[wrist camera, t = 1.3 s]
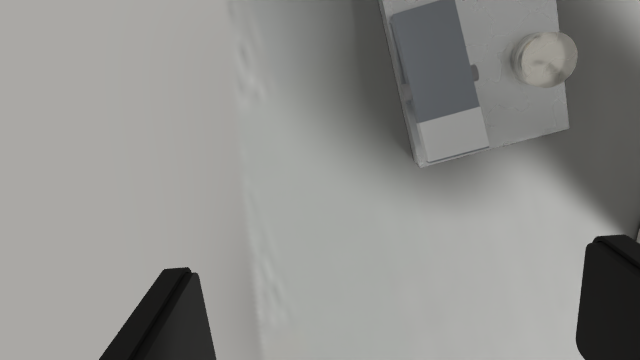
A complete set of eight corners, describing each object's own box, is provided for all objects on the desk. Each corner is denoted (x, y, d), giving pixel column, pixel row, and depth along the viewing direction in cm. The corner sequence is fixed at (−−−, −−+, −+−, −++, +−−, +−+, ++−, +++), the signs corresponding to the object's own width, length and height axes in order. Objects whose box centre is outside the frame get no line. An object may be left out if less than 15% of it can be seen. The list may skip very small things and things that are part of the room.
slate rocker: (455, 0, 25) (460, -7, 24) (489, 145, 26) (496, 145, 25) (383, 21, 26) (385, 16, 25) (419, 163, 27) (423, 165, 26)
